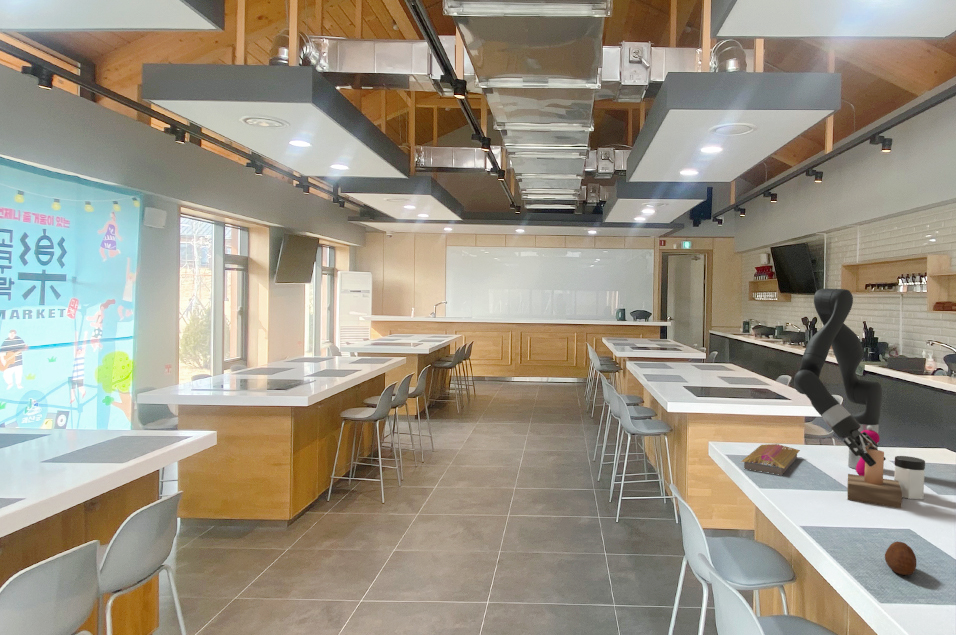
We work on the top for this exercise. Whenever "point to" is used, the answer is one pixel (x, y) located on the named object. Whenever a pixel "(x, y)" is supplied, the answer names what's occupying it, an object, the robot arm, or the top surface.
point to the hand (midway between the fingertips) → (878, 463)
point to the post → (875, 468)
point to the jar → (910, 476)
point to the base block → (874, 491)
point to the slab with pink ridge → (771, 458)
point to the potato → (901, 558)
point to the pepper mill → (875, 437)
